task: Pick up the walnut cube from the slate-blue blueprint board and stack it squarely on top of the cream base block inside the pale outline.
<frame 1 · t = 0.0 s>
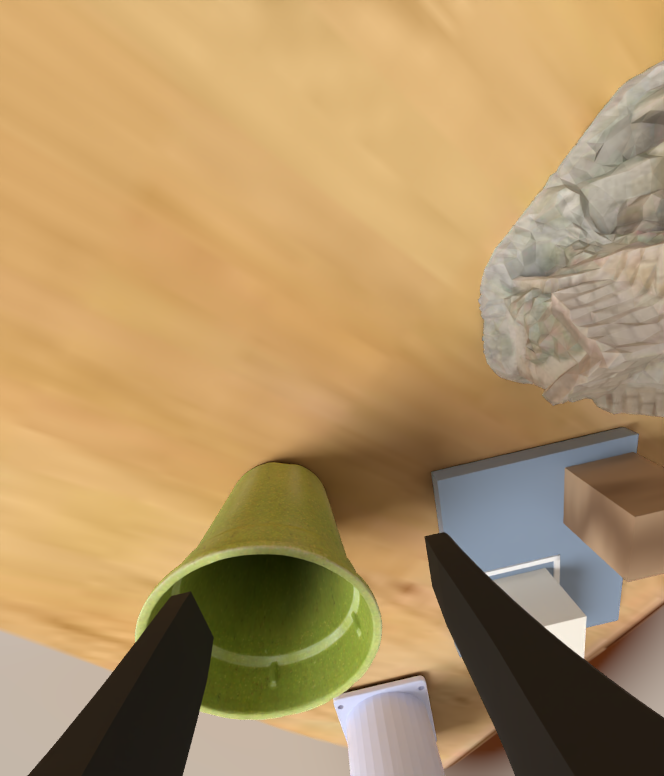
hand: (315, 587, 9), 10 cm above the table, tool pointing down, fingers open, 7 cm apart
cream base block: (506, 606, 23), point 1 cm above the table, touching blueprint board
jagged grey rock: (615, 243, 17), on the table
plant pot: (281, 498, 20), on the table
blueprint board: (529, 547, 23), on the table
walnut block: (596, 488, 21), point 1 cm above the table, touching blueprint board
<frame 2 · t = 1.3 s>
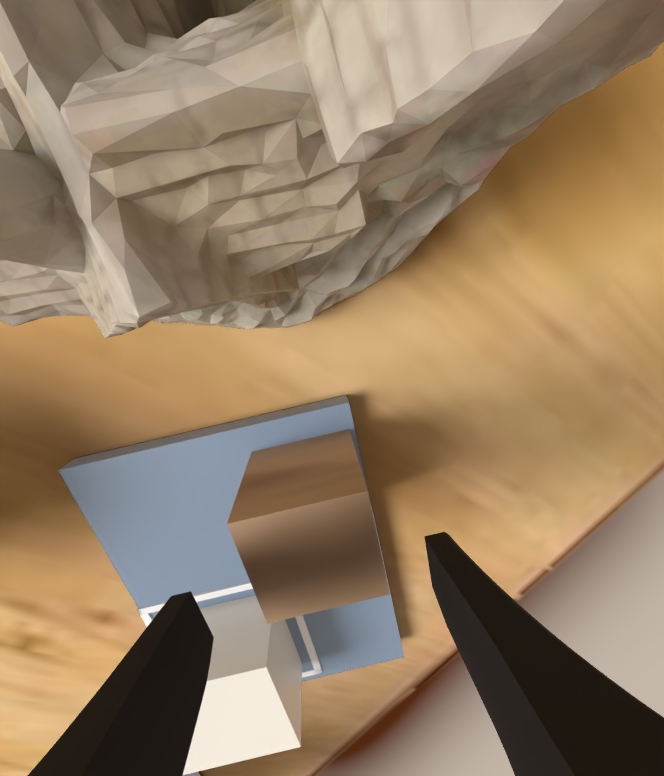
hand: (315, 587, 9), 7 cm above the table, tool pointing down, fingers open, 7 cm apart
cream base block: (236, 641, 17), point 1 cm above the table, touching blueprint board
jagged grey rock: (246, 96, 11), on the table
blueprint board: (262, 563, 17), on the table
walnut block: (312, 482, 15), point 1 cm above the table, touching blueprint board
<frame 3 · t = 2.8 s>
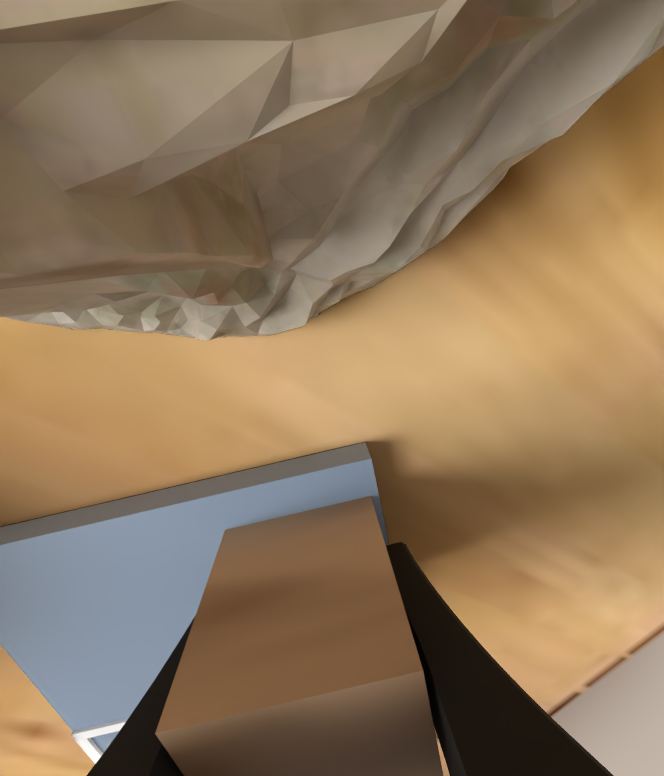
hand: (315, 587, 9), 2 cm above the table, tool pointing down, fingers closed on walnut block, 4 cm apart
blueprint board: (247, 660, 13), on the table
walnut block: (315, 568, 10), point 1 cm above the table, touching blueprint board, gripper
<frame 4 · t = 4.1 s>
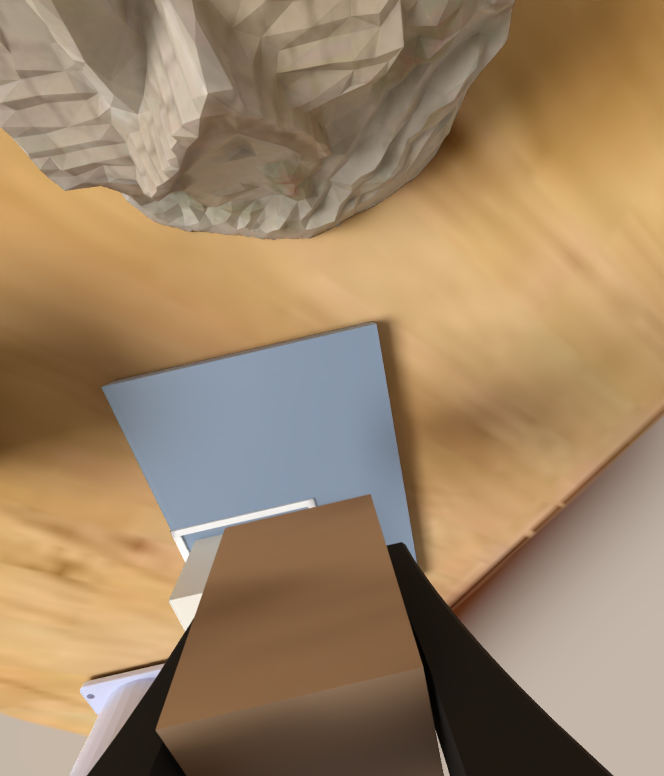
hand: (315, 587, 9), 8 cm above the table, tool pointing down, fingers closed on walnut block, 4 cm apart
cream base block: (263, 568, 18), point 1 cm above the table, touching blueprint board
blueprint board: (287, 492, 18), on the table
walnut block: (315, 566, 10), point 8 cm above the table, touching gripper
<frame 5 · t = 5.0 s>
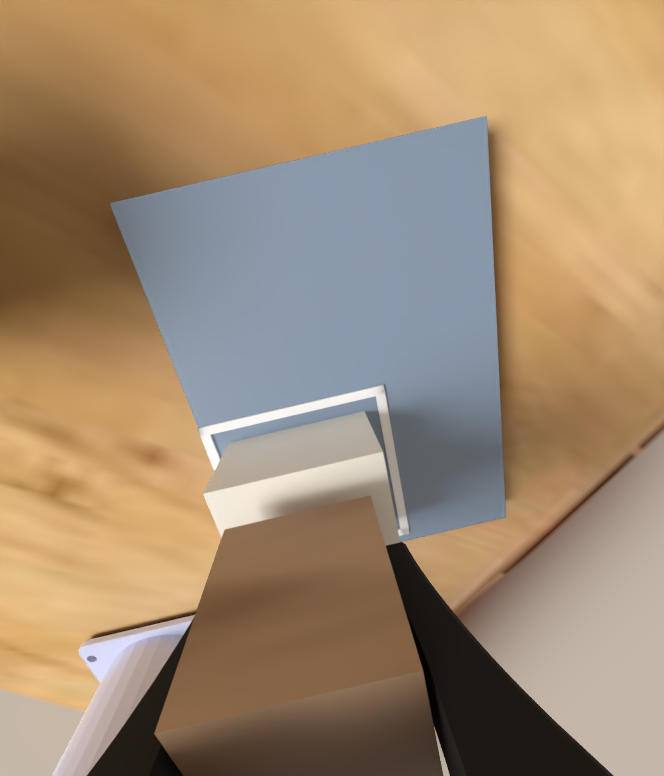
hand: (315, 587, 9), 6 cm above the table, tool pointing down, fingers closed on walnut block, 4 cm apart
cream base block: (312, 484, 14), point 1 cm above the table, touching blueprint board
blueprint board: (345, 385, 14), on the table
walnut block: (314, 567, 10), point 6 cm above the table, touching gripper
when the fingers open (6 cm above the table, at t = 5.8 s): walnut block drops 1 cm, resting on cream base block.
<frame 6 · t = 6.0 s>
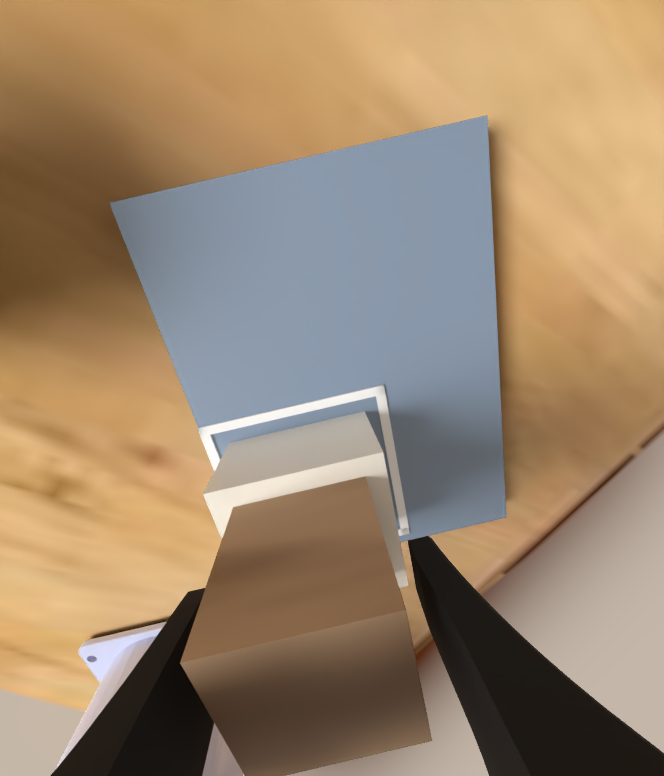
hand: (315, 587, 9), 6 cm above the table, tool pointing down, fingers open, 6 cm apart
cream base block: (313, 484, 14), point 1 cm above the table, touching blueprint board, walnut block
blueprint board: (345, 385, 14), on the table
walnut block: (314, 543, 11), point 4 cm above the table, touching cream base block
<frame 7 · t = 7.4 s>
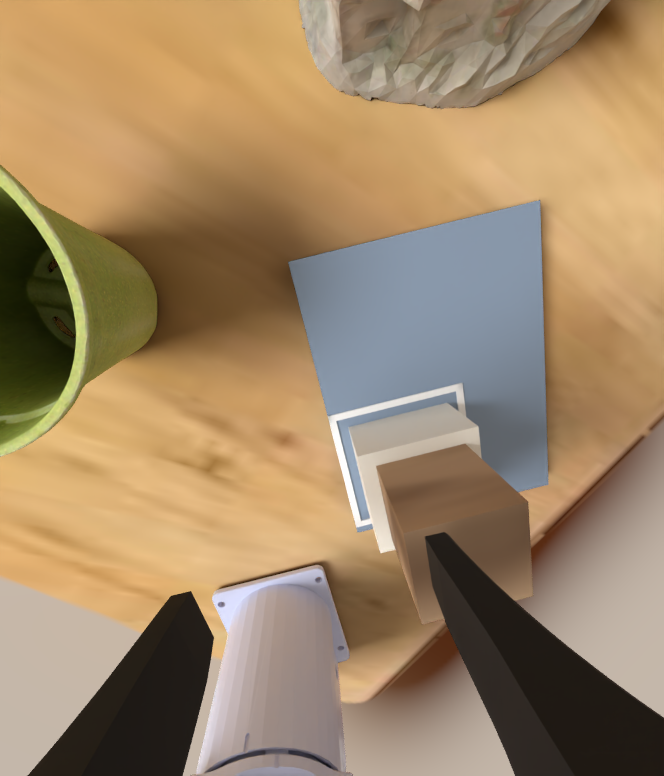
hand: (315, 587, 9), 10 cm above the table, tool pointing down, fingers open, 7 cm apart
cream base block: (405, 458, 19), point 1 cm above the table, touching blueprint board, walnut block
plant pot: (103, 299, 16), on the table
blueprint board: (430, 384, 19), on the table
walnut block: (427, 493, 16), point 4 cm above the table, touching cream base block
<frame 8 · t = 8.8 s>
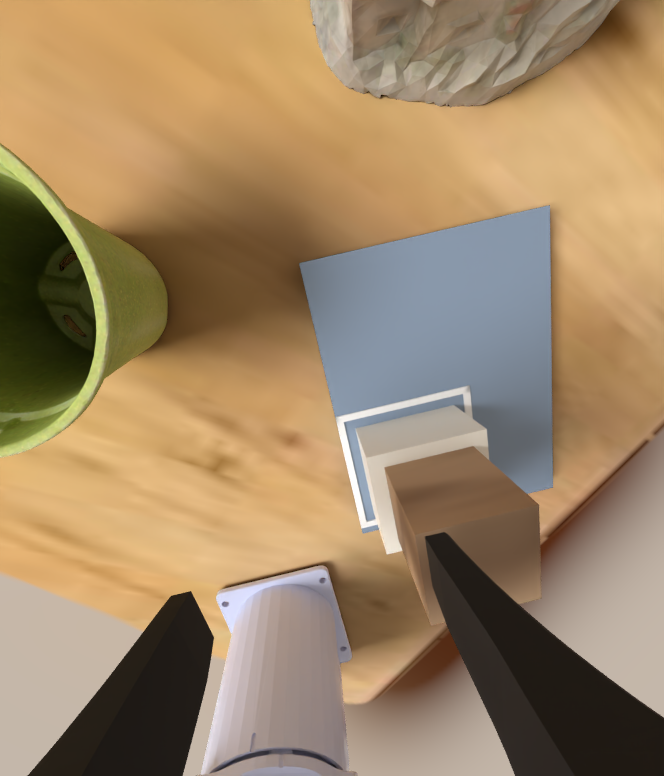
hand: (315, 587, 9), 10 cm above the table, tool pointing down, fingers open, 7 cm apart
cream base block: (411, 460, 19), point 1 cm above the table, touching blueprint board, walnut block
plant pot: (113, 298, 16), on the table
blueprint board: (436, 386, 19), on the table
walnut block: (434, 494, 16), point 4 cm above the table, touching cream base block
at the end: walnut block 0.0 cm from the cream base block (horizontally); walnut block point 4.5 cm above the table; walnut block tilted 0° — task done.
